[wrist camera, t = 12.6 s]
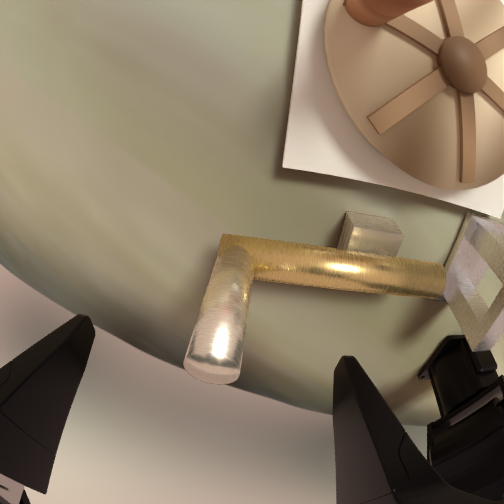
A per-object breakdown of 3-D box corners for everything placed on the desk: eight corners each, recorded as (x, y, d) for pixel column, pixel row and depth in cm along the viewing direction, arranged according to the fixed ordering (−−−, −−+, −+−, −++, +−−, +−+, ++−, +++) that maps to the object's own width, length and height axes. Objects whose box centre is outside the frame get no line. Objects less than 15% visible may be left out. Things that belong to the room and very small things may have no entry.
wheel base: (492, 212, 14) (500, 218, 13) (282, 162, 14) (282, 167, 13) (522, 21, 6) (531, 21, 5) (309, -77, 6) (310, -85, 5)
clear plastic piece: (464, 297, 18) (494, 353, 13) (325, 284, 18) (337, 358, 13) (501, 222, 14) (549, 271, 9) (353, 183, 14) (389, 238, 9)
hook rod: (423, 284, 15) (470, 385, 9) (221, 259, 15) (185, 380, 9) (436, 256, 14) (495, 357, 8) (223, 226, 14) (180, 346, 8)
